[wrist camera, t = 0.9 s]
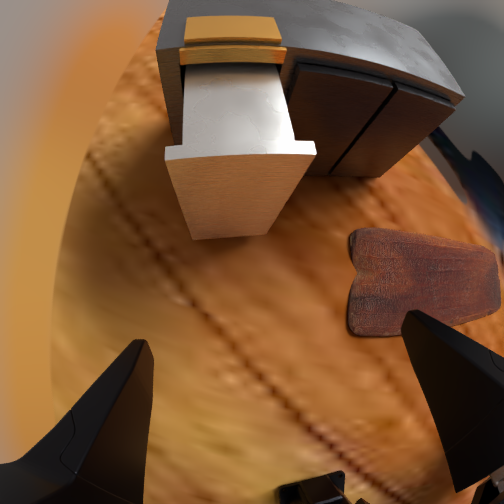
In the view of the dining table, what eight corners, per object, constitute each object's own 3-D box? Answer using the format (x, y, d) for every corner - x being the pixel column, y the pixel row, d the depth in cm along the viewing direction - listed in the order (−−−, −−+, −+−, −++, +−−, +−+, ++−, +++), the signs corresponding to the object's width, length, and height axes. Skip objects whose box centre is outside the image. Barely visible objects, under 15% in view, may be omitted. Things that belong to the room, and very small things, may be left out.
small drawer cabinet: (379, 182, 25) (472, 102, 11) (183, 187, 22) (152, 53, 9) (356, 115, 27) (418, 27, 13) (183, 111, 24) (172, -12, 10)
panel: (265, 234, 21) (316, 154, 10) (192, 240, 20) (164, 160, 9) (254, 147, 23) (281, 39, 11) (189, 151, 22) (176, 40, 10)
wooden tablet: (343, 338, 22) (352, 340, 20) (343, 227, 24) (351, 222, 23) (497, 318, 25) (506, 317, 23) (494, 248, 27) (502, 246, 25)
